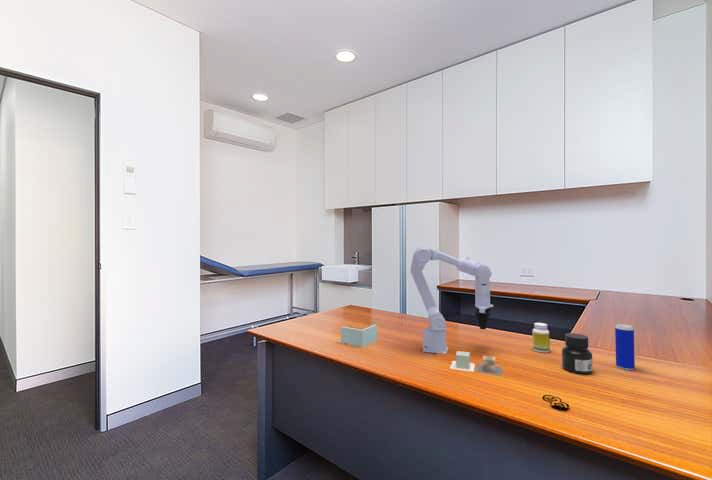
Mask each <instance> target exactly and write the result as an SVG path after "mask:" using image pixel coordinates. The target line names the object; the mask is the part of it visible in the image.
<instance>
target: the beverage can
mask: <svg viewBox="0 0 712 480" xmlns="http://www.w3.org/2000/svg"><path fill="white" fill-rule="evenodd" d="M614 337H615V340H614V341H615V344H614V345H615V365H616V367H617V368H618V369H621V370H624V369H625V371H633V370H634V369H635V367H636V366H635V363H636V362H635V358H636V357H635V328H634V326H632V325H629V324H624V323H617V324H616V325H615V326H614Z"/></svg>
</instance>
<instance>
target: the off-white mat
mask: <svg viewBox="0 0 712 480" xmlns="http://www.w3.org/2000/svg"><path fill="white" fill-rule="evenodd" d="M475 365H476V364H475V363H473V362H470V368H469V369H464V368H456V360H452V361H451V365H450V366H449V368H450V369H451V370H458V371H464V372H473V373H474V372H475Z"/></svg>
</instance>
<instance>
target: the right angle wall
mask: <svg viewBox="0 0 712 480" xmlns="http://www.w3.org/2000/svg"><path fill="white" fill-rule="evenodd" d="M376 340H377V341H378V325H377V324H376V323H375V324H373V325H370V326H368V327H366V328H363V329H359V328H353V327H349V326H340V343H341V344H343V343H346V344H345V345H348V344H350V345H349V346H352V345H354V347H357V346H359V348H362V347H363V348H365V347H367V346H369V345H371V344H373V343H374V342H375V343H376V342H377V341H376Z"/></svg>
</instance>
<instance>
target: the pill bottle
mask: <svg viewBox="0 0 712 480" xmlns="http://www.w3.org/2000/svg"><path fill="white" fill-rule="evenodd" d="M533 324H534V325H533V327H534V328H533V329H532V332H531V333H532V334H531V335H532V350H533V351H535V352H537V353H544V354H545V353H550V350H551V346H550V345H551V343H550V340H551V339H550V331H549V330H548V324H547V323H544V322H535V323H533Z"/></svg>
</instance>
